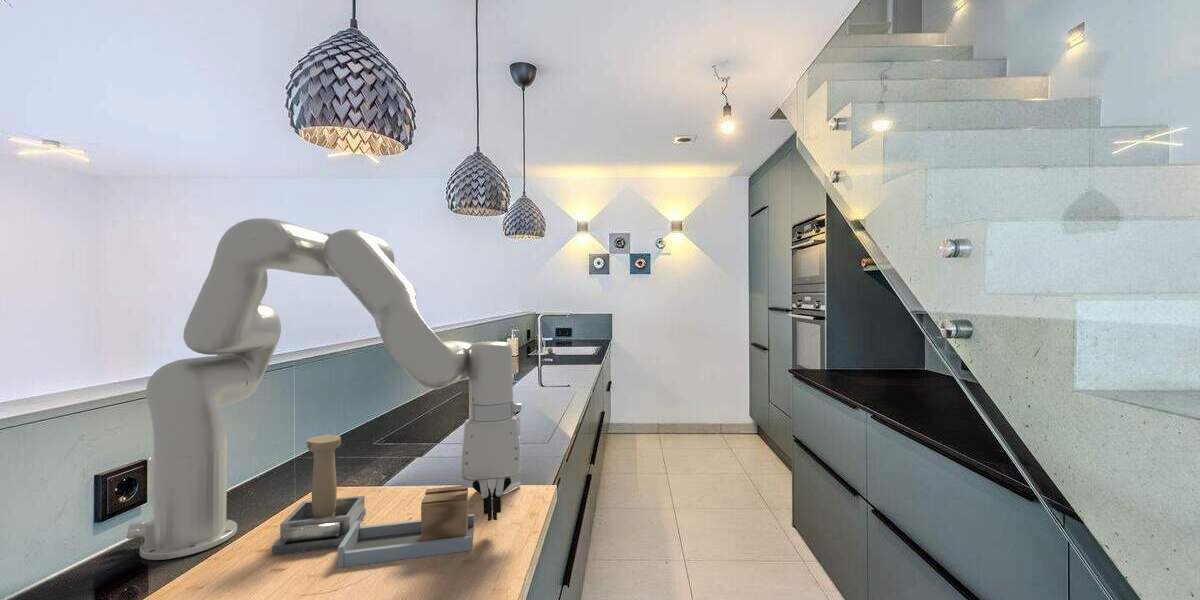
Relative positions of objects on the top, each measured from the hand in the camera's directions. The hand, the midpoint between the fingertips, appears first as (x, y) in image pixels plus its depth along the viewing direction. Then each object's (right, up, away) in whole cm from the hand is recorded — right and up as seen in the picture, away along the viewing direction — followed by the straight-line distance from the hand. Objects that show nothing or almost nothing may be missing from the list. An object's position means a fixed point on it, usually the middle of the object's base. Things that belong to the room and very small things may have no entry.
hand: (492, 517), depth 81 cm
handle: (-31, -2, +2) cm, 31 cm away
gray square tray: (-30, -4, +1) cm, 30 cm away
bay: (-12, -3, -3) cm, 13 cm away
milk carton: (-4, -4, +21) cm, 21 cm away
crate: (-7, -3, -2) cm, 8 cm away
